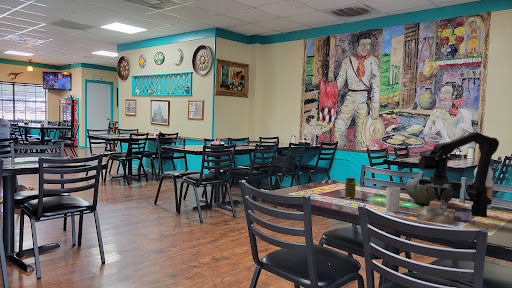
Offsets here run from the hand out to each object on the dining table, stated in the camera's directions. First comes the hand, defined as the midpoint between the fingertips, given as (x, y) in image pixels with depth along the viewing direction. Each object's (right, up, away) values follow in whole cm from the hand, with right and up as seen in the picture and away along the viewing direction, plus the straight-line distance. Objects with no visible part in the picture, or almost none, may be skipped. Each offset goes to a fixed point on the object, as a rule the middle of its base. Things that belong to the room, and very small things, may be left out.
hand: (439, 200), depth 183 cm
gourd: (+8, -6, +29) cm, 31 cm away
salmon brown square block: (-7, -2, -10) cm, 12 cm away
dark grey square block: (0, -3, 0) cm, 3 cm away
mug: (-21, -7, +7) cm, 23 cm away
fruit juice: (+36, -7, +23) cm, 43 cm away
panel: (-4, -8, -5) cm, 10 cm away
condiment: (-34, -5, +41) cm, 54 cm away
